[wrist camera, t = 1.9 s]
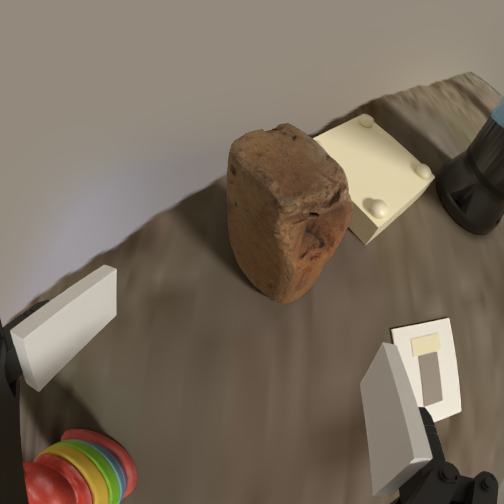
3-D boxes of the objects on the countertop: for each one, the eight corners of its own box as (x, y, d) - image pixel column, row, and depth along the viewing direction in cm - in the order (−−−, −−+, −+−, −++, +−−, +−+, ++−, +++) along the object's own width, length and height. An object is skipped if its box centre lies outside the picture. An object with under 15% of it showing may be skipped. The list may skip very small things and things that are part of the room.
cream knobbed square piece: (356, 133, 50) (365, 109, 45) (421, 194, 45) (438, 173, 40) (291, 169, 46) (296, 142, 40) (365, 245, 41) (381, 224, 35)
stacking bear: (61, 427, 29) (-35, 433, 13) (128, 427, 30) (44, 449, 14) (80, 500, 24) (0, 539, 8) (149, 505, 25) (88, 569, 9)
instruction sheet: (447, 318, 36) (449, 317, 36) (460, 411, 31) (461, 411, 30) (391, 329, 36) (392, 329, 35) (402, 432, 30) (404, 432, 30)
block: (225, 250, 40) (213, 136, 22) (272, 222, 42) (292, 105, 24) (273, 319, 36) (305, 246, 18) (322, 286, 38) (385, 194, 20)
